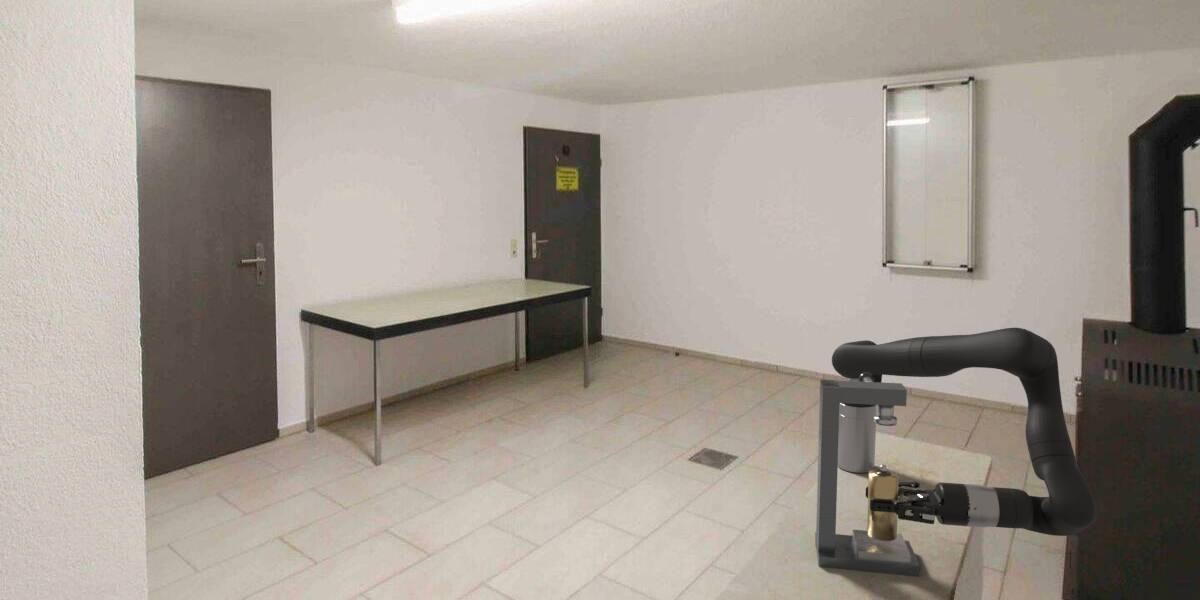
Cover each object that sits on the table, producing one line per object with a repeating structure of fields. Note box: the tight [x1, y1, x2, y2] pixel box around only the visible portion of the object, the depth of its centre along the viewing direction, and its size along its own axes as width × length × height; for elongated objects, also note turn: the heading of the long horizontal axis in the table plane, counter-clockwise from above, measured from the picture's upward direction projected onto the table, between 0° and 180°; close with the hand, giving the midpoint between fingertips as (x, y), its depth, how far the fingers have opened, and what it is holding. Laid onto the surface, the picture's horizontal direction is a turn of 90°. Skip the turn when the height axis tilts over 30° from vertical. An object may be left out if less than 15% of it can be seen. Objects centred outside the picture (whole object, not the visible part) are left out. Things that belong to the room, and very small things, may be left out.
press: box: [814, 372, 921, 577], centre depth 133 cm, size 18×18×34 cm
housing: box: [866, 464, 900, 541], centre depth 129 cm, size 5×5×14 cm
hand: (868, 498), depth 130 cm, fingers closed on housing, 5 cm apart
